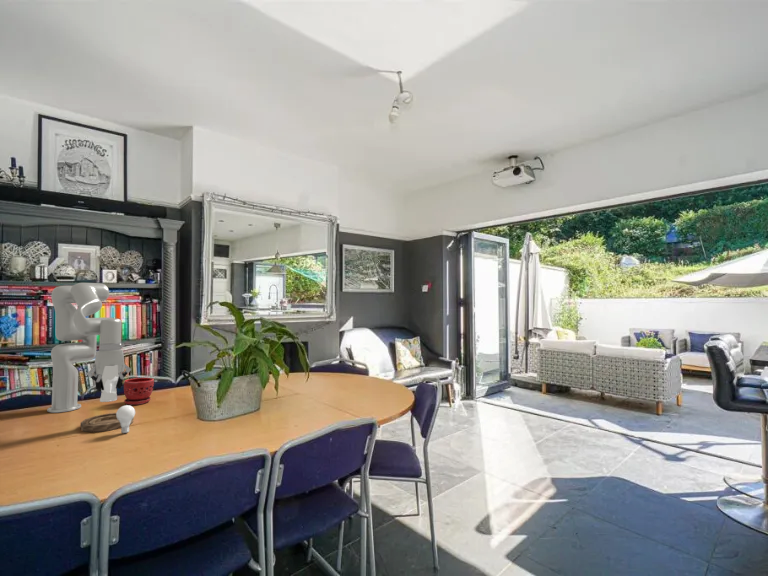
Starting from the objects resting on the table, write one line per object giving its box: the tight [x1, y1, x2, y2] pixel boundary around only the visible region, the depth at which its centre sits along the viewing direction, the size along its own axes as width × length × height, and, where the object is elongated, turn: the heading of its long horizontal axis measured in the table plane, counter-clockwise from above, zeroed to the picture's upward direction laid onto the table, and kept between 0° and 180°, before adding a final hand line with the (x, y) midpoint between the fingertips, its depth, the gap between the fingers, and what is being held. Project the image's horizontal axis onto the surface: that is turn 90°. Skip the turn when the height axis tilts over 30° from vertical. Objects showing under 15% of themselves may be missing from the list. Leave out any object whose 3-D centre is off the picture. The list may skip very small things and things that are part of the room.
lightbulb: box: [115, 404, 136, 434], centre depth 153 cm, size 6×6×11 cm
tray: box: [80, 412, 135, 433], centre depth 163 cm, size 18×18×3 cm
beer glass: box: [99, 365, 119, 403], centre depth 163 cm, size 7×7×15 cm
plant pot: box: [123, 377, 155, 406], centre depth 198 cm, size 13×13×12 cm
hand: (109, 389), depth 163 cm, fingers closed on beer glass, 6 cm apart
